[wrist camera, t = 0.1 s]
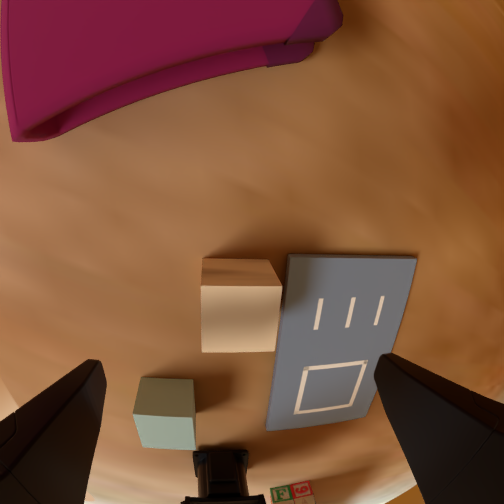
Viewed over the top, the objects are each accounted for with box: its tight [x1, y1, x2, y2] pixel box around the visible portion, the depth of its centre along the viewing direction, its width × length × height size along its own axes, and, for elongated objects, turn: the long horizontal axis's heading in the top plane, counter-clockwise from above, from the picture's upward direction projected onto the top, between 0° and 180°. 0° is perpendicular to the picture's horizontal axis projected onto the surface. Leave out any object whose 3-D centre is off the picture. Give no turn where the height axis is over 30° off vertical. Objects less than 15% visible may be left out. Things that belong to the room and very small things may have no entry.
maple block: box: [201, 258, 282, 352], centre depth 22 cm, size 5×5×5 cm
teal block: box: [133, 377, 196, 450], centre depth 25 cm, size 5×5×5 cm
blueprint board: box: [266, 254, 417, 431], centre depth 27 cm, size 20×12×1 cm, turn 176°
